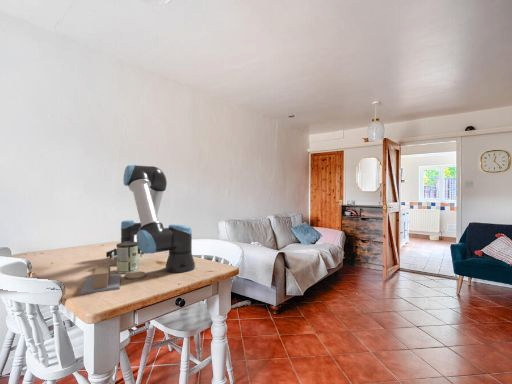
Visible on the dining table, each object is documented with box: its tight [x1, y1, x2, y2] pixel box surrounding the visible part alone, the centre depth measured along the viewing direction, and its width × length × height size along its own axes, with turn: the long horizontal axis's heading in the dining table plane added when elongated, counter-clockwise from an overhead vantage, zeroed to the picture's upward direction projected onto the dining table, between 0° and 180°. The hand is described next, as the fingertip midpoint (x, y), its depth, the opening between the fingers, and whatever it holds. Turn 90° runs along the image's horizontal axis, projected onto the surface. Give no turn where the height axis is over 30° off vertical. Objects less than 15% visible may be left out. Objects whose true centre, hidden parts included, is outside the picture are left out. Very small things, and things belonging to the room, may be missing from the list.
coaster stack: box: [124, 270, 147, 281], centre depth 129 cm, size 9×9×2 cm
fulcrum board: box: [79, 262, 122, 295], centre depth 119 cm, size 20×14×7 cm
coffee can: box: [116, 241, 139, 274], centre depth 139 cm, size 10×10×14 cm
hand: (127, 255), depth 141 cm, fingers open, 13 cm apart
